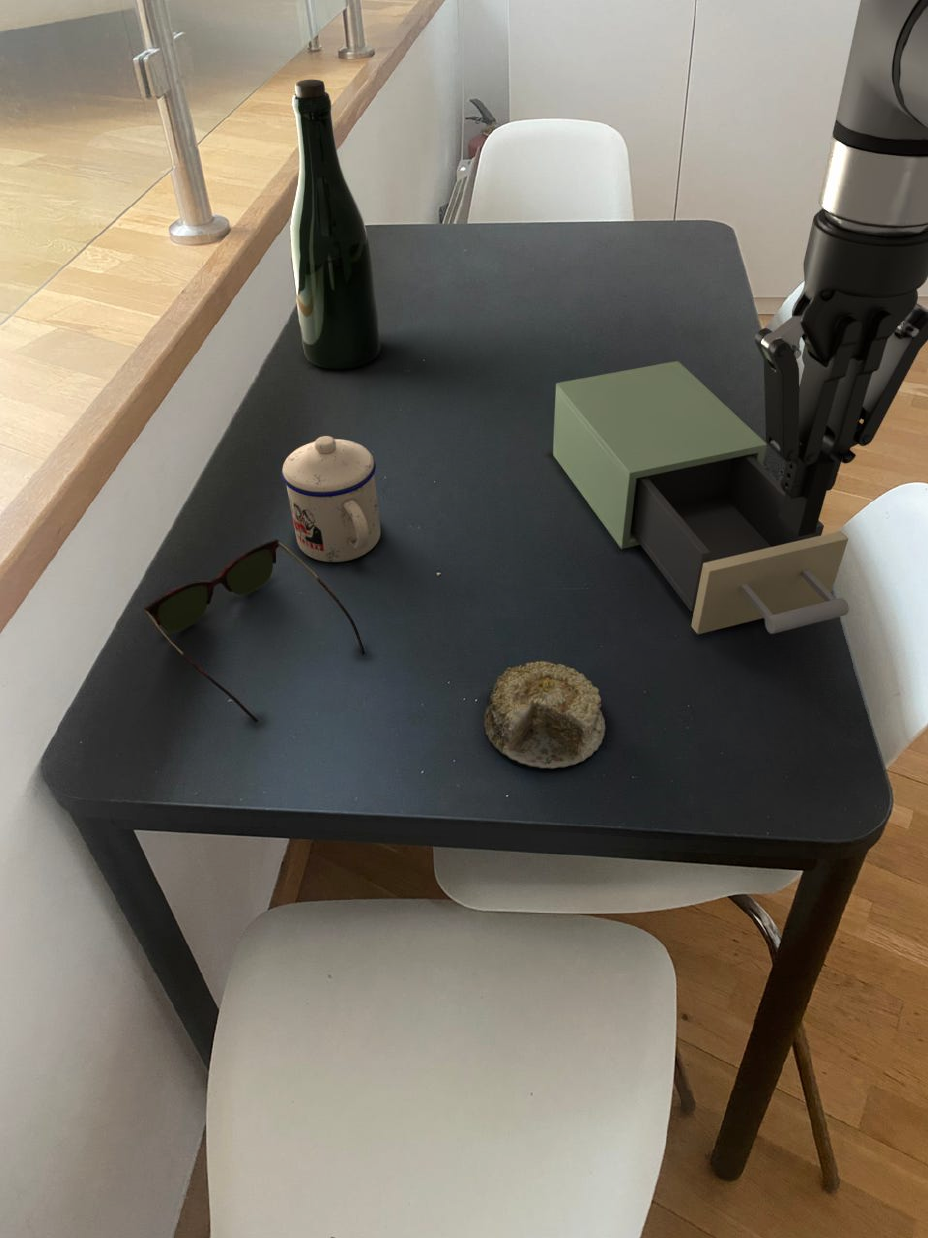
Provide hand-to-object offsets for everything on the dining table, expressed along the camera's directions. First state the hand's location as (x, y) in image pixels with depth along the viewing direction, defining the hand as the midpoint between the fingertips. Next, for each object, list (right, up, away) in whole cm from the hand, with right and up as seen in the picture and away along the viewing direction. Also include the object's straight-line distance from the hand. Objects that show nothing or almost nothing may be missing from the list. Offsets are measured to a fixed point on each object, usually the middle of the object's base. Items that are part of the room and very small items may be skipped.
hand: (796, 525), depth 72 cm
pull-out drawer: (-1, -4, +15) cm, 15 cm away
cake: (-20, -16, +4) cm, 26 cm away
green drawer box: (-6, +7, +28) cm, 30 cm away
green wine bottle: (-43, +29, +54) cm, 74 cm away
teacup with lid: (-38, 0, +22) cm, 44 cm away
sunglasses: (-44, -10, +11) cm, 47 cm away
